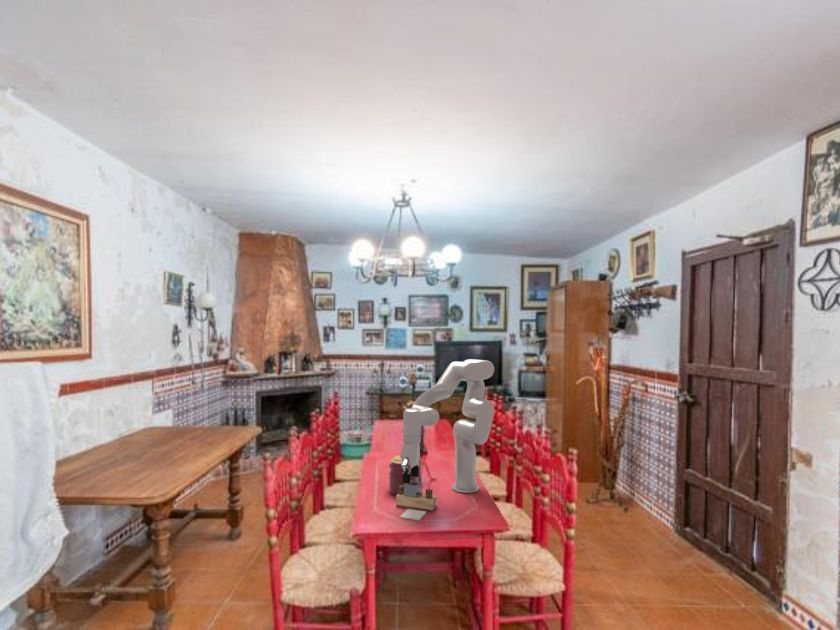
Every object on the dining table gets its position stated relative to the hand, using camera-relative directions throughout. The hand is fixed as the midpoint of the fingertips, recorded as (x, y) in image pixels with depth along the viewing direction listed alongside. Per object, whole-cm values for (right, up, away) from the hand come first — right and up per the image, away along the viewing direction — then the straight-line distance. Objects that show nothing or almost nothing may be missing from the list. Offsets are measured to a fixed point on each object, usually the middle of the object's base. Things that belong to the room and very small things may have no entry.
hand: (410, 479), depth 195 cm
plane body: (+2, -11, 0) cm, 11 cm away
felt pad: (+1, -11, -10) cm, 14 cm away
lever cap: (+1, -6, 0) cm, 6 cm away
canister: (-4, -12, +17) cm, 21 cm away
